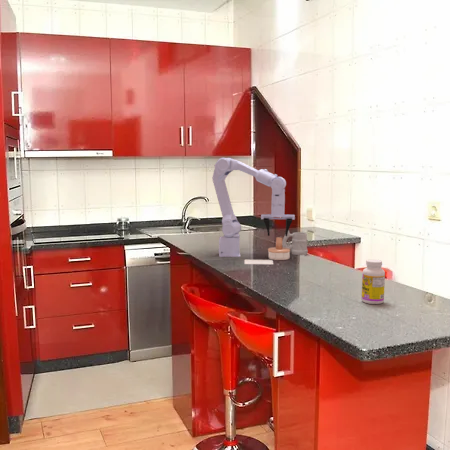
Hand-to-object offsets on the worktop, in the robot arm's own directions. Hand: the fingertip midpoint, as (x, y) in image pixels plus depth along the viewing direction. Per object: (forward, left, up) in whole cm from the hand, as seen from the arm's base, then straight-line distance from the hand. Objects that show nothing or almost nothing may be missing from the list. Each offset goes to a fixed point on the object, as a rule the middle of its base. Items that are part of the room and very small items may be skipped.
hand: (277, 235), depth 242 cm
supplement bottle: (+26, -73, -10) cm, 78 cm away
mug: (+9, +11, -10) cm, 18 cm away
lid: (+1, -1, -7) cm, 7 cm away
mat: (-8, -11, -10) cm, 17 cm away
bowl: (+1, -1, -10) cm, 10 cm away
